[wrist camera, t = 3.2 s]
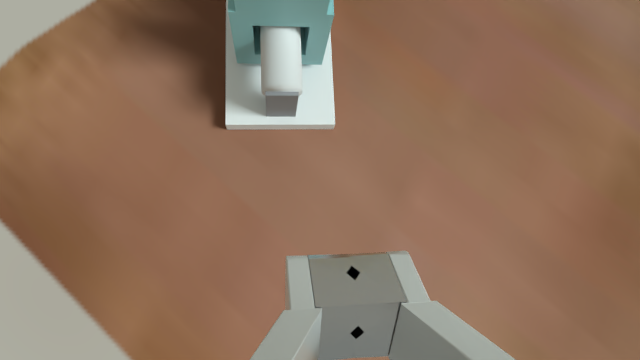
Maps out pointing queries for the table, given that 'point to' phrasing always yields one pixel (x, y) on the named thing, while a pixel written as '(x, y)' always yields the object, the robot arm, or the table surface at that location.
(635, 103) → the table surface
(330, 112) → the pipe stand
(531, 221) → the table surface
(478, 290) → the table surface
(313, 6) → the teal notched saddle block
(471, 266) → the table surface
